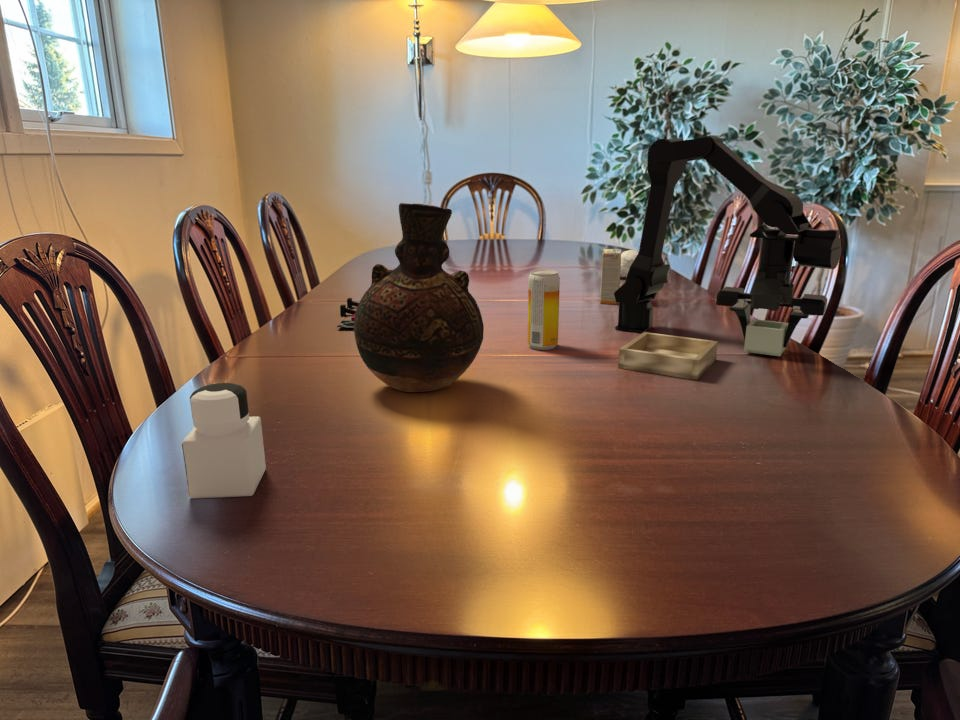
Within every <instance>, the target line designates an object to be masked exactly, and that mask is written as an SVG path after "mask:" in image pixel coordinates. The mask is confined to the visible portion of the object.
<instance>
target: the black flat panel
mask: <svg viewBox="0 0 960 720" xmlns="http://www.w3.org/2000/svg"><path fill="white" fill-rule="evenodd" d="M358 304H359V302H357V301H354V300H353V298H352V297H348V298H347V299H346V304H341V305H340V306H339V309H340V310H339V311H340V312H339V314H340V317H345V316H346V315H347V314H350V315H352V316H351V320H341V322H340V323H339V324H338V325H337V326H336V328H354V318H355V313H356V309H355V310H354V309H353V307H356V308H357V307H358ZM348 308H351V309H348Z"/></svg>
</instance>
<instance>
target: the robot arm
mask: <svg viewBox="0 0 960 720" xmlns="http://www.w3.org/2000/svg"><path fill="white" fill-rule="evenodd" d="M703 159H704V161H706V162H707V163H708V164H709V166H712V168H713V169H714V170H716V171H717V172H718V173H720V174H721V176H722V177H724V178H725V179H726V180H727V181H728V182H729V183H731V184H732V185H733V186H734V187H735V188H736V189H737V190H739V191H740V193H742V194H743V195H744V196H745V197H746V198H747V200H748V201H749V203H750V205H751V208H752V209H753V211H754V212H755V214H756V216H758V217H759V219H760V221H762V223H763V224H759V226H758V227H757V228H756V229H754V230H753V232H751V233H750V234H749V237H750V238H752V239H753V238H756V239H760V240H761V241H760V248H759V249H760V250H759V256H758V264H757V266H758V268H757V274H756V275H757V276H756V279H755V281H754V283H753V285H752V289H751V292H749V293H748V292H745V291H744V290H745V289H744V288H743V287H736V286H725V287H723V288H722V289H720V290H719V291H718V292H717V295H716V302H715V305H716V306H721V307H729V308H728V309H729V311H731V312H734V313H735V314H736V316H737V318H738V321H739V323H740V327H741V332H742V335H743V339H744V341H745V336H746V327H747V325H748V324H749V323H750V322H751V309H752V310H753V309H754V310H759V309H763V310H769V311H773V312H775V311H778V310H779V309H780V307H784V308H792V312H791V313H790V314H789V319H788V320H789V321H788V322H787V323H788V327H787V331H786V334H785V338H784V345H783V347H784V348H785V347H786V348H787V346H788V343H789V342H790V339H791V337H792V336H793V334H794V332H795V329H796V328H797V326H798V324H799V323H800V321H801V319H808V318H809V316H817V317H818V316H824V315H825V312H826V311H827V305H828V298H827V297H826V295H824V294H823V295H821V294H812V293H804V294H803V296H802V297H795V284H794V283H791V275H792V269H793V268H792V267H793V260H794V261H795V262H797V263H798V265H799V266H800V267H807V268H808V267H809V268H815V269H816V268H818V269H827V270H835V269H836V268H837V266H838V265H839V262H840V259H841V256H842V250H843V248H842V244H841V243H842V242H841V238H840V232H841V231H840V229H836V228H835V229H818V228H817V229H816V228H815V229H814V227H813V225H812V224H811V222H810V221H809V219H808V218H807V216H806V214H805V213H804V203H803V199H802V198H800V197H799V195H797V194H795V193H793V192H791V191H790V190H788V189H787V188H785V187H782V186H781V185H778V184H777V183H774V182H772V181H770V180H768V179H767V178H765V177H764V176H763V175H761V174H760V172H758V171H757V170H756V169H755V168H753V167H752V166H751V165H750V164H749V163H747V162H746V161H745V160H744V159H743V158H741V156H740V155H738V154H737V153H736V152H735V151H734V150H733V149H732V148H730V147H729V146H728V145H727V144H725V142H723V140H722V138H721V137H720V136H714V135H704V136H701V137H698V138H692V139H685V140H682V139H680V138H679V139H678V138H659V139H657V140H654V142H652V144H650V145H649V147H648V150H647V162H646V163H647V166H646V169H647V174H648V177H649V178H648V179H649V182H650V187H649V188H650V189H649V193H648V198H647V204H646V210H645V215H644V221H643V226H642V232H641V236H640V237H641V238H640V243H639V244H640V245H639V249H638V251H637V252H638V255H637V256H636V258H635V259H634V261H633V263H632V264H631V266H630V268H629V271H628V274H627V277H626V276H625V282H624V283H623V284H622V285H621V286H619V289H618V290H616V291H615V292H614V296H615V300H616V302H618V315H617V317H618V319H617V322H618V323H617V325H615V327H614V329H615V330H620V331H629V332H635V333H643V332H647V331H649V329H651V328H652V327H653V323H654V322H653V319H654V308H653V307H652V300H655V298H656V297H657V294H658V292H660V291H661V290H662V289H663V288H664V286H665V284H667V283H668V274H669V271H670V265H671V264H669V263H665V262H664V260H663V251H664V244H665V239H666V234H667V228H668V224H669V218H670V214H671V208H672V203H673V197H674V192H675V188H676V185H677V184H678V182H679V180H680V179H681V177H682V176H683V174H684V172H685V169H686V166H687V164H688V162H691V161H692V162H693V161H697V160H703ZM770 227H771V228H770ZM786 348H785V349H786Z"/></svg>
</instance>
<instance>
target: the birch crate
mask: <svg viewBox="0 0 960 720" xmlns="http://www.w3.org/2000/svg"><path fill="white" fill-rule="evenodd" d="M718 342H719V341H718V340H717V341H715V340H711V339H710V340H709V339H703V338H694V337H687V336H681V335H680V336H678V335H671V334H662V333H656V332H655V333H654V332H647V331H645V332H641V333H640V334H639V335H638V336H636V337H635V338H633V339H632V340H630V341H629V342H627V343H626V344H625V345H623V346H622V347H620V348H619V349H618V366H617V367H618V368H619V369H622V370H629V371H636V372H643V373H648V374H649V373H650V374H654V375H661V376H662V375H663V376H668V377H674V378H680V379H687V380H695V381H698V380H699V379H700V378H701V377H702V375H704V373H706V372H707V370H708V369H709V368H710V367H711V366H712V365H713V364H714V362H715V361H716V360H717V356H718V355H717V353H718V344H719V343H718Z"/></svg>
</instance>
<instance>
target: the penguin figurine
mask: <svg viewBox="0 0 960 720" xmlns="http://www.w3.org/2000/svg"><path fill="white" fill-rule="evenodd" d="M638 252H639V251H638V250H635V249H629V250H624V251H623V252H621V272H620V275H624V274H625V275H624V276H625V277H626V276H627V274H628V271H629V268H630V266H631V264H632V263H633V261H634V259H635V258H636V256H637V255H638Z"/></svg>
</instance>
